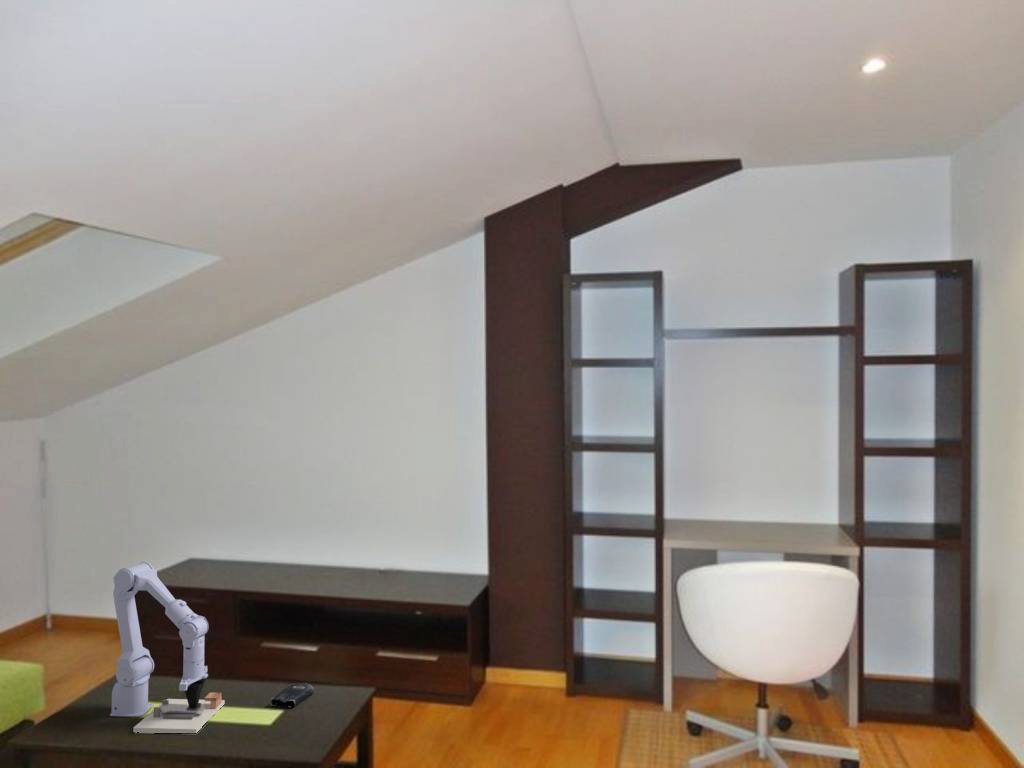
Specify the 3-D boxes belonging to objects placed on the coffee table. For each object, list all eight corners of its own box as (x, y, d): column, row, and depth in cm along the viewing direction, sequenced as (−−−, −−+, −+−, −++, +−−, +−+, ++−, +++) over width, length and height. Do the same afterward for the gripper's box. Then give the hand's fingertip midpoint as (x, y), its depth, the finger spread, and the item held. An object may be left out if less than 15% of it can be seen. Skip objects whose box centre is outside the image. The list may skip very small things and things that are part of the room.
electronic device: (297, 715, 232) (319, 689, 246) (294, 698, 231) (316, 673, 246) (270, 716, 233) (292, 690, 248) (267, 699, 233) (289, 674, 247)
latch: (204, 707, 227) (204, 697, 228) (210, 702, 231) (210, 692, 232) (216, 708, 227) (216, 698, 227) (221, 702, 231) (221, 692, 231)
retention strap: (155, 712, 222) (155, 707, 222) (162, 707, 226) (162, 701, 226) (201, 714, 222) (201, 709, 222) (207, 709, 226) (207, 703, 226)
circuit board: (133, 733, 214) (133, 718, 214) (167, 703, 234) (167, 690, 234) (196, 734, 214) (196, 719, 214) (224, 705, 234) (224, 691, 234)
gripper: (196, 669, 217) (196, 716, 217) (217, 651, 231) (216, 696, 231) (172, 668, 217) (171, 716, 217) (194, 651, 231) (194, 695, 231)
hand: (193, 705), depth 224 cm, fingers closed, pressing on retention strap
